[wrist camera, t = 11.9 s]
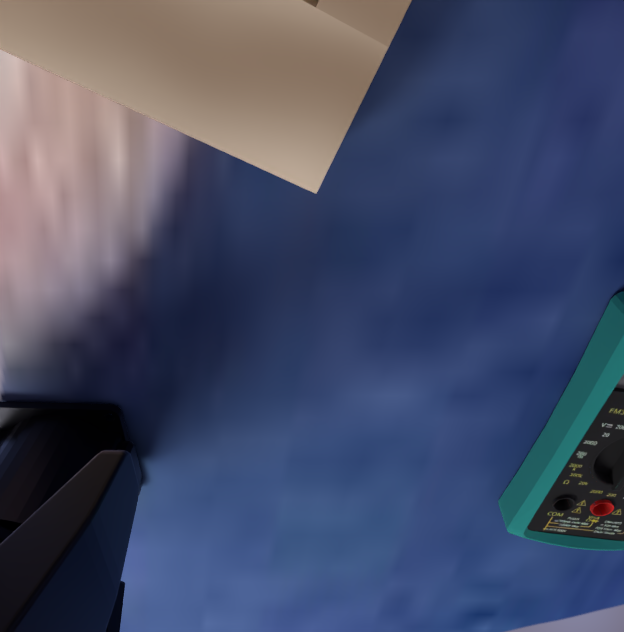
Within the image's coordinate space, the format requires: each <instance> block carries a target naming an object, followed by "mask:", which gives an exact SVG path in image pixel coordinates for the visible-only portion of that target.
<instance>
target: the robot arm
mask: <svg viewBox="0 0 624 632" xmlns="http://www.w3.org/2000/svg"><path fill="white" fill-rule="evenodd" d="M109 414H112V415H109ZM141 478H142V474H141V470H140V466H139V462H138V458H137V454H136V450H135V446H134V444H133V443H132V442H131V441H130V440H129V436H128V432H127V428H126V424H125V420H124V416H123V412H122V410H121V409H120V408H119V407H118V406H116V405H113V404H88V403H40V402H0V632H119V631H120V622H121V614H122V605H123V596H124V588H125V583H124V582H123V581H121V576H122V571H123V566H124V562H125V557H126V552H127V548H128V543H129V538H130V534H131V529H132V525H133V520H134V515H135V511H136V506H137V501H138V496H139V494H140V491H141V484H140V481H141Z"/></svg>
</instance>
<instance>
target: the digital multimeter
mask: <svg viewBox="0 0 624 632" xmlns="http://www.w3.org/2000/svg"><path fill="white" fill-rule="evenodd" d="M610 394H611V395H610ZM608 397H609V398H608ZM606 400H607V401H606ZM603 405H604V406H603ZM601 408H602V409H601ZM599 411H600V412H599ZM597 414H598V415H597ZM596 416H597V417H596ZM594 419H595V420H594ZM592 422H593V423H592ZM591 424H592V425H591ZM590 425H591V426H590ZM589 427H590V428H589ZM587 430H588V431H587ZM585 433H586V434H585ZM584 435H585V436H584ZM583 436H584V437H583ZM582 438H583V439H582ZM580 441H581V442H580ZM578 444H579V445H578ZM577 446H578V447H577ZM576 447H577V448H576ZM575 449H576V450H575ZM573 452H574V453H573ZM572 454H573V455H572ZM571 455H572V456H571ZM570 457H571V458H570ZM569 458H570V459H569ZM568 460H569V461H568ZM566 463H567V464H566ZM565 465H566V466H565ZM590 465H591V466H590ZM564 466H565V467H564ZM563 468H564V469H563ZM561 471H562V472H561ZM590 471H591V472H590ZM546 495H547V496H546ZM544 498H545V499H544ZM498 504H499V507H500V510H501V513H502V516H503V519H504V522H505V525H506V528H507V531H508V532H509V533H511V534H514V535H517V536H520V537H523V538H526V539H530V540H534V541H538V542H543V543H547V544H552V545H557V546H563V547H568V548H577V549H586V550H624V291H622V292H620V293H618V294H616V295H615V296H614V297H613V298H612V299H611V300H610V302H609V304H608V306H607V308H606V310H605V312H604V314H603V316H602V318H601V320H600V322H599V324H598V326H597V328H596V330H595V332H594V334H593V336H592V338H591V340H590V342H589V344H588V346H587V348H586V350H585V353H584V355H583V357H582V359H581V361H580V363H579V365H578V367H577V369H576V371H575V373H574V375H573V376H572V378H571V380H570V382H569V384H568V385H567V387H566V389H565V391H564V392H563V394H562V396H561V398H560V400H559V402H558V404H557V405H556V407H555V409H554V411H553V413H552V415H551V416H550V418H549V420H548V422H547V424H546V425H545V427H544V429H543V430H542V432H541V434H540V435H539V437H538V438H537V440H536V442H535V443H534V445H533V447H532V448H531V450H530V452H529V453H528V455H527V457H526V458H525V460H524V462H523V464H522V465H521V467H520V469H519V470H518V472H517V473H516V475H515V476H514V478H513V479H512V481H511V482H510V484H509V485H508V487H507V488H506V490H505V491H504V493H503V494H502V496H501V498H500V499H499V502H498Z"/></svg>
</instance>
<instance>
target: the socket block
mask: <svg viewBox="0 0 624 632" xmlns="http://www.w3.org/2000/svg"><path fill="white" fill-rule="evenodd" d="M411 1H412V0H0V50H3V51H5V52H7V53H9V54H11V55H14V56H16V57H18V58H20V59H22V60H24V61H27V62H29V63H31V64H33V65H35V66H38V67H40V68H42V69H44V70H46V71H48V72H51V73H53V74H55V75H57V76H59V77H62V78H64V79H66V80H68V81H70V82H73V83H75V84H77V85H79V86H81V87H83V88H86V89H88V90H90V91H92V92H94V93H97V94H99V95H101V96H103V97H105V98H108V99H110V100H112V101H114V102H116V103H118V104H121V105H123V106H125V107H127V108H129V109H132V110H134V111H136V112H138V113H140V114H142V115H145V116H147V117H149V118H151V119H153V120H156V121H158V122H160V123H162V124H164V125H167V126H169V127H171V128H173V129H175V130H177V131H180V132H182V133H184V134H186V135H188V136H191V137H193V138H195V139H197V140H199V141H201V142H204V143H206V144H208V145H210V146H212V147H215V148H217V149H219V150H221V151H223V152H226V153H228V154H230V155H232V156H234V157H236V158H239V159H241V160H243V161H245V162H247V163H250V164H252V165H254V166H256V167H258V168H261V169H263V170H265V171H267V172H269V173H271V174H274V175H276V176H278V177H280V178H282V179H285V180H287V181H289V182H291V183H293V184H295V185H298V186H300V187H302V188H304V189H306V190H309V191H311V192H313V193H315V194H316V193H317V191H318V189H319V187H320V185H321V183H322V181H323V179H324V177H325V175H326V173H327V171H328V169H329V167H330V165H331V163H332V161H333V159H334V157H335V155H336V153H337V151H338V149H339V147H340V145H341V143H342V141H343V139H344V137H345V135H346V133H347V131H348V129H349V127H350V125H351V122H352V120H353V118H354V116H355V114H356V112H357V110H358V108H359V106H360V104H361V102H362V100H363V98H364V96H365V94H366V92H367V90H368V88H369V86H370V84H371V82H372V80H373V78H374V76H375V74H376V72H377V70H378V68H379V66H380V64H381V62H382V60H383V58H384V56H385V54H386V52H387V50H388V48H389V46H390V43H391V41H392V39H393V37H394V35H395V33H396V31H397V29H398V27H399V25H400V23H401V21H402V19H403V17H404V15H405V13H406V11H407V9H408V7H409V5H410V3H411Z"/></svg>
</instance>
